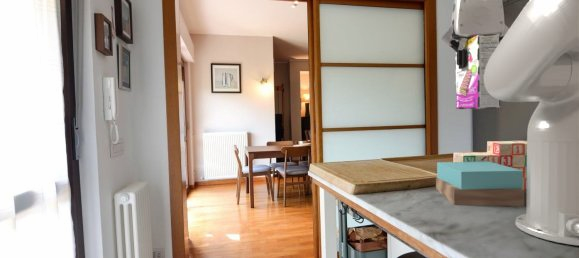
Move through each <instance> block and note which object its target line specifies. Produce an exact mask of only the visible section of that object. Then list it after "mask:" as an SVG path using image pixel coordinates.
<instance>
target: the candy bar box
mask: <svg viewBox="0 0 579 258" xmlns="http://www.w3.org/2000/svg"><path fill="white" fill-rule="evenodd" d="M500 36H501V33H500V34H484V35H477V36H475V37H473V38H471V39H468V40H467V41H466V44H465V46H464V50H466V51H467V66H466V67H465V68H462V69H459V65H457V52H455V51H454V53H455V54H454V55H455V109H456V110H483V109H484V110H485V109H489V110H490V109H500V108H501V100H498V99H496V98H494V97H492V96H491V95H490V94H489V93H488V92H487V90H486V88H485V85H484V72H485V68H486V65H487V63H488V61H489V59H490V57H491V55H492V53H493V52H494V50H495V49H496V47H497V46H498V44H499V43H500Z"/></svg>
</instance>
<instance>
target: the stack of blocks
mask: <svg viewBox="0 0 579 258" xmlns="http://www.w3.org/2000/svg"><path fill="white" fill-rule="evenodd" d="M486 143H487V144H486V152H481V151H480V152H479V151H478V152H476V151H473V152H472V151H471V152H466V151H465V152H453V157H452V158H453V159H452V160H453V161H452V162H485V161H489V162H492V163H496V164H500V165H504V166H507V167H511V168H515V169H518V170H522V171H523V190H524V191H527V140H505V141H504V140H499V141H497V140H496V141H491V140H490V141H489V140H487V142H486Z"/></svg>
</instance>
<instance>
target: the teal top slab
mask: <svg viewBox="0 0 579 258" xmlns="http://www.w3.org/2000/svg"><path fill="white" fill-rule="evenodd" d="M436 172H437V173H436V177H437V178H439V179H441V180H443V181H445V182H447V183H449V184H451V185H453V186H455V187H457V188H459V189H461V190H466V189H523V171H522V170H518V169H515V168H511V167H507V166H504V165H500V164H496V163H492V162H489V161H485V162H453V161H447V162H446V161H443V162H442V161H440V162H439V161H438V162H436Z"/></svg>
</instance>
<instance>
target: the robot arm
mask: <svg viewBox="0 0 579 258" xmlns="http://www.w3.org/2000/svg"><path fill="white" fill-rule="evenodd" d="M503 3H504V2H503V0H454V2H453V7H452V12H451V23H450V24H451V25H450V27H449V28H448V29H447V31H445V33H444V34H443V35H442V37H441V40H442V41H443V42H444V43H446V44H448V46H449V47H450V48H452V50H454V53H455V52H457V65H459V69H462V68H465V67H466V66H467V51H466V50H464V46H465V44H466V41H467V40H468V39H471V38H473V37H475V36H477V35H484V34H500V43H499V44H498V46H497V47H496V49H495V50H494V52H493V53H492V55H491V57H490V59H489V61H488V63H487V65H486V68H485V72H484V85H485V88H486V90H487V92H488V93H489V94H490V95H491V96H492V97H494V98H496V99H498V100H500V102H501V101H502V102H506V103H507V102H509V103H510V102H511V103H525V102H526V103H528V102H531V103H533V102H535V103H536V102H539V103H538V105H537V106H536V108H535V110H534V111H533V113H532V115H531V117H530V119H529V122H528V124H527V131H526V136H527V137H526V141H527V190H526V207H525V208H526V209H525V211H526V213H524V214H523V213H522V214H520V215H518V216H516V217H515V226H516V227H517V228H518V229H519V230H521V231H523V232H524V233H526V234H528V235H531V236H534V237H536V238H540V239H542V240H546V241H551V242H554V243H559V244H565V245H569V246H570V245H571V246H576V247H577V246H578V247H579V0H528V1H527V2H526V4H525V5H524V7H523V8H522V10H521V11H520V13H519V14H518V16H517V17H516V18H515V20H514V21H513V22H512V24H511V26H510V27H508V26H507V25H506V24H505V13H504V11H505V10H504V6H503V5H504V4H503Z"/></svg>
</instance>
